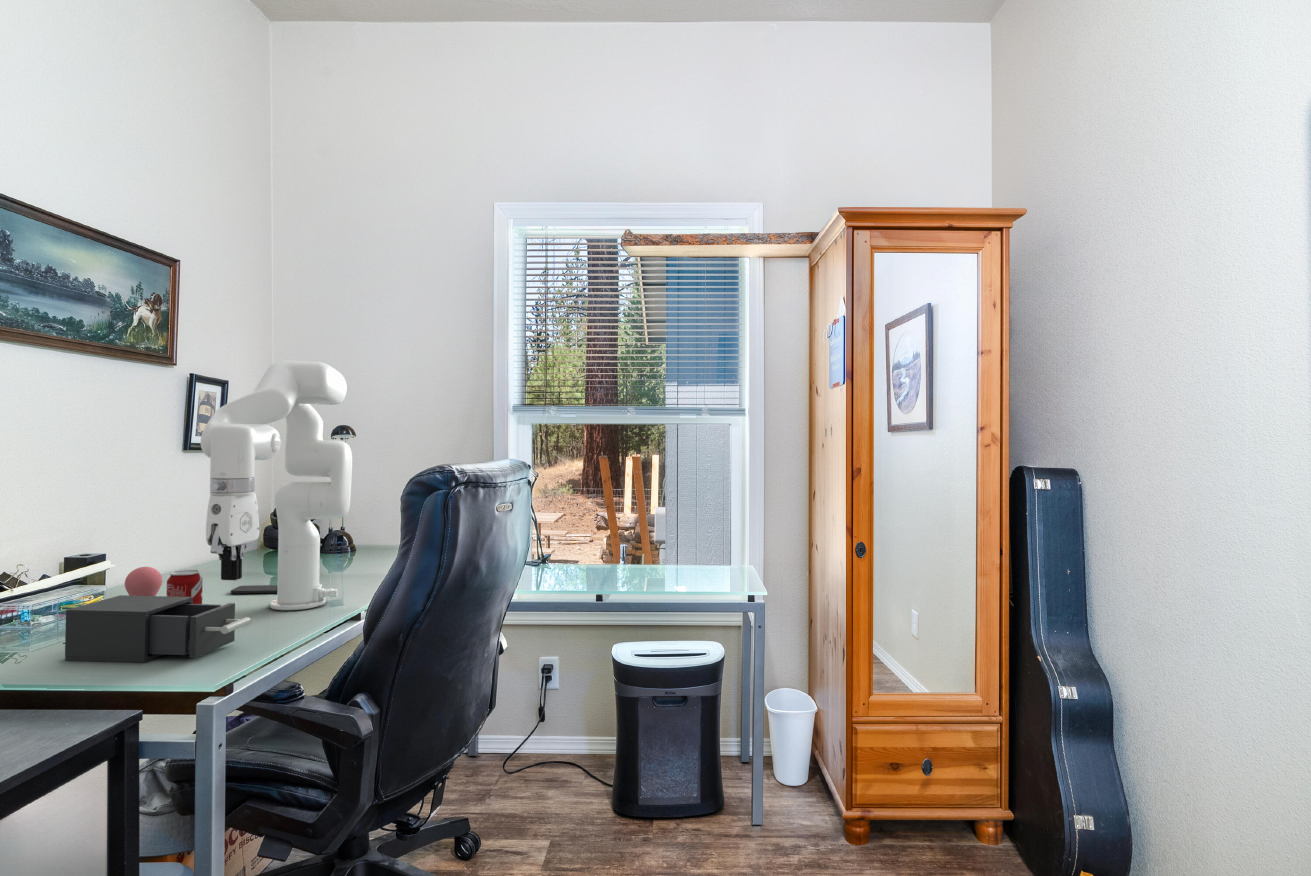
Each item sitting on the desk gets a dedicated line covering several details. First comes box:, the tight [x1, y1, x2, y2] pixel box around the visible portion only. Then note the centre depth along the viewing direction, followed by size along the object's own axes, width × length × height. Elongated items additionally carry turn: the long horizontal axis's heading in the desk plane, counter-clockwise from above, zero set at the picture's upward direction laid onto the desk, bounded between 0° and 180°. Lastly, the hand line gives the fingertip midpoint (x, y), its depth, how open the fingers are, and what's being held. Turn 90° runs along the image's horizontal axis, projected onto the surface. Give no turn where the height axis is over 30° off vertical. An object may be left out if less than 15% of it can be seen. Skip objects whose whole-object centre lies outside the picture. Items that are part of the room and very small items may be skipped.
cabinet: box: [64, 594, 193, 664], centre depth 136 cm, size 16×13×10 cm
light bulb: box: [124, 566, 163, 596], centre depth 161 cm, size 7×7×12 cm
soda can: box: [165, 569, 204, 604], centre depth 156 cm, size 7×7×12 cm
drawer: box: [148, 602, 252, 659], centre depth 136 cm, size 19×11×8 cm, turn 88°
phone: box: [230, 584, 278, 594], centre depth 191 cm, size 7×1×15 cm
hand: (231, 579), depth 136 cm, fingers closed
